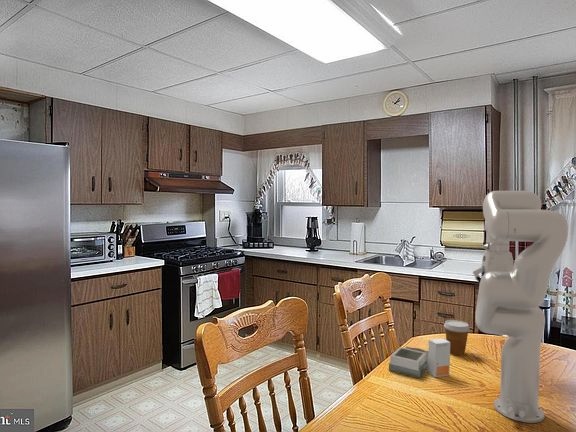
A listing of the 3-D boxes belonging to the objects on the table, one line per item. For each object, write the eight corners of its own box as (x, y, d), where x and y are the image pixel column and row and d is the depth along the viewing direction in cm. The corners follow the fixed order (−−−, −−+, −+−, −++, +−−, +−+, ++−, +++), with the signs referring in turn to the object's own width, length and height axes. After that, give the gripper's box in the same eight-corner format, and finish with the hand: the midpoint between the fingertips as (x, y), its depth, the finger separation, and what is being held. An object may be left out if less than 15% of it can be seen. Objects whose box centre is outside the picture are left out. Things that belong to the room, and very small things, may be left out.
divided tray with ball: (419, 378, 135) (420, 362, 134) (388, 370, 141) (389, 355, 140) (434, 358, 151) (435, 344, 151) (406, 352, 157) (406, 339, 157)
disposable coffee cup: (438, 350, 159) (438, 321, 159) (455, 347, 163) (455, 318, 163) (457, 359, 151) (457, 328, 150) (474, 355, 155) (475, 325, 154)
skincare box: (435, 378, 135) (435, 343, 134) (427, 372, 139) (428, 339, 139) (450, 376, 137) (450, 342, 136) (442, 370, 141) (442, 337, 140)
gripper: (479, 249, 140) (478, 296, 141) (527, 249, 141) (525, 297, 141) (469, 246, 148) (468, 292, 148) (514, 247, 148) (513, 292, 149)
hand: (496, 294), depth 145 cm, fingers open, 9 cm apart
